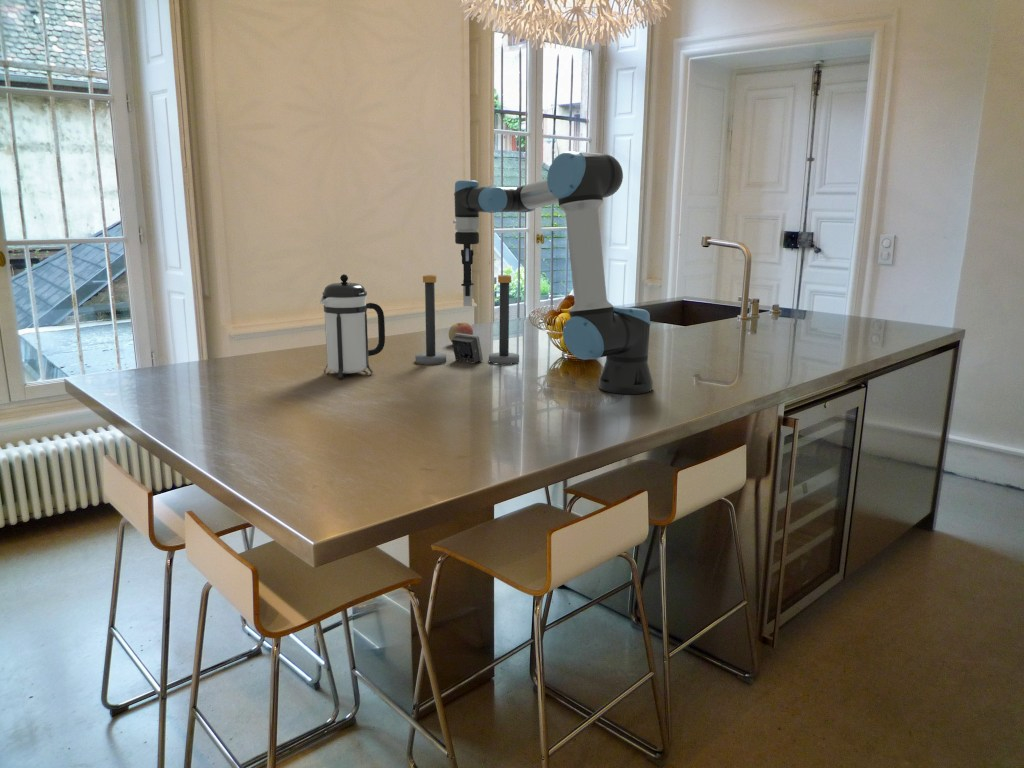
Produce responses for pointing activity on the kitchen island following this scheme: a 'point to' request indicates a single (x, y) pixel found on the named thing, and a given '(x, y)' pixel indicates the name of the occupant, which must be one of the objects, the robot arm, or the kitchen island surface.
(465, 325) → the apple
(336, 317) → the coffee press
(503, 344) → the post
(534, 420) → the kitchen island surface
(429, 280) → the post
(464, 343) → the electrical switch
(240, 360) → the kitchen island surface
